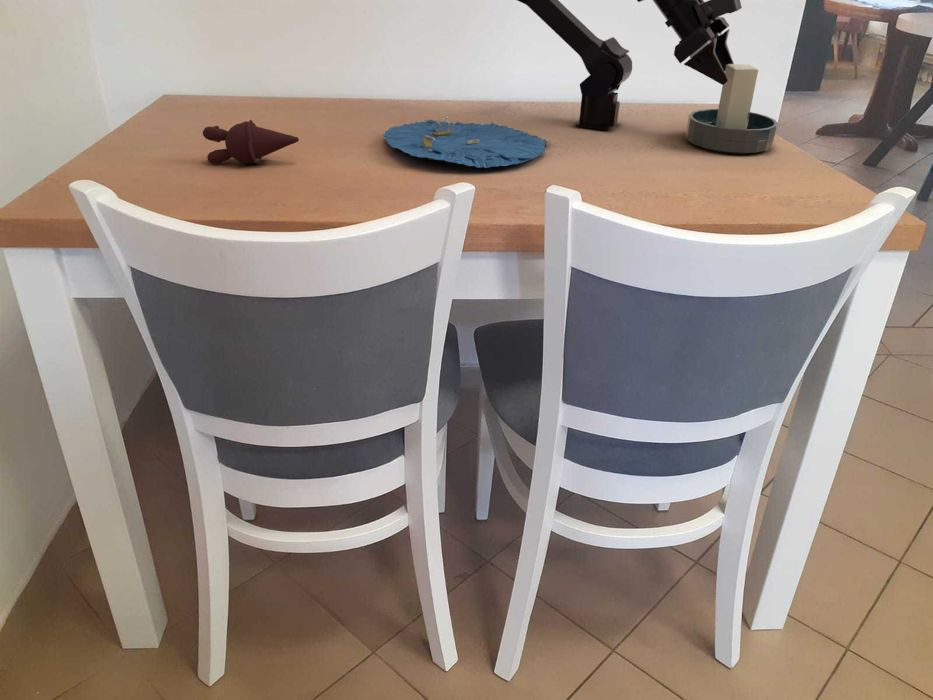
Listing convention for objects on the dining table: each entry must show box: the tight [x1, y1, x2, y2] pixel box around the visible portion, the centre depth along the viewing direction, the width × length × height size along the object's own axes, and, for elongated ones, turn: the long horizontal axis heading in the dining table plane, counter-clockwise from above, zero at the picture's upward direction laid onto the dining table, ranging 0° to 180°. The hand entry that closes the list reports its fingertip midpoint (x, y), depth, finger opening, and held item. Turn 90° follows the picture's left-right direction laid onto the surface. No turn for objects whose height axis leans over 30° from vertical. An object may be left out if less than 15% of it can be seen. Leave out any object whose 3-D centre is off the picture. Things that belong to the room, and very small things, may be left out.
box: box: [715, 63, 759, 129], centre depth 131 cm, size 5×4×13 cm
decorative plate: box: [382, 116, 549, 169], centre depth 128 cm, size 30×30×5 cm
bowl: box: [684, 108, 779, 155], centre depth 134 cm, size 15×15×4 cm
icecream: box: [202, 119, 300, 165], centre depth 117 cm, size 7×7×15 cm
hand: (729, 78), depth 130 cm, fingers open, 9 cm apart
